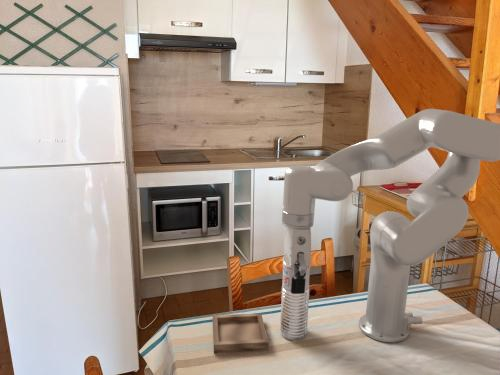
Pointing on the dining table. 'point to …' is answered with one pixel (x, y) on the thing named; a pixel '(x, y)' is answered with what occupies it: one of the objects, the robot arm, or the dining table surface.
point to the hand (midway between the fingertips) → (293, 283)
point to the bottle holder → (239, 333)
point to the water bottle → (293, 305)
